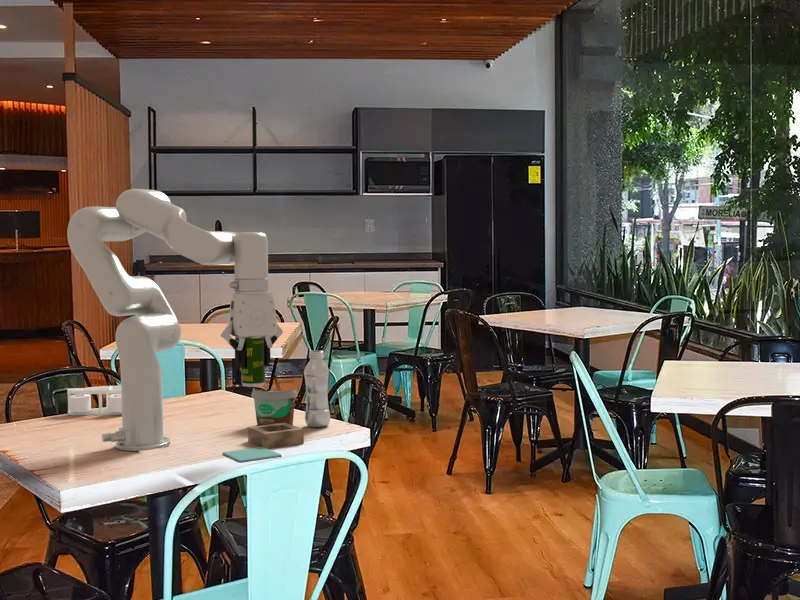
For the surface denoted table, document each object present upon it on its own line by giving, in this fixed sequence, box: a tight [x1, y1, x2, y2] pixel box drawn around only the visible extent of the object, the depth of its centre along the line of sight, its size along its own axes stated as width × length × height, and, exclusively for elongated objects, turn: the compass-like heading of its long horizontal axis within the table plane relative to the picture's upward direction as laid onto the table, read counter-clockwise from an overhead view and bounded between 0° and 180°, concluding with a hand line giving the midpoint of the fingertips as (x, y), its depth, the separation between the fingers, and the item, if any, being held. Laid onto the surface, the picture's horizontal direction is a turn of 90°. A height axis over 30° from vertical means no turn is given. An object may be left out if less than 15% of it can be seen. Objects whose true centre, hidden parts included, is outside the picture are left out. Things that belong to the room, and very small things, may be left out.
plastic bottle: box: [303, 349, 331, 428], centre depth 250 cm, size 6×7×20 cm
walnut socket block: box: [247, 423, 305, 449], centre depth 232 cm, size 10×10×4 cm
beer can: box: [240, 336, 266, 388], centre depth 218 cm, size 5×5×12 cm
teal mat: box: [222, 446, 282, 463], centre depth 218 cm, size 10×10×1 cm
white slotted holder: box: [66, 385, 122, 416], centre depth 273 cm, size 20×11×7 cm, turn 88°
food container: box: [250, 387, 298, 426], centre depth 250 cm, size 12×6×10 cm, turn 81°
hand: (252, 365), depth 219 cm, fingers closed on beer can, 5 cm apart
